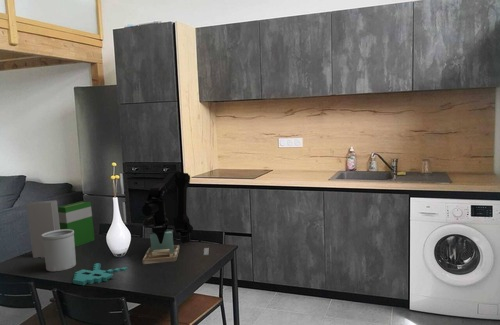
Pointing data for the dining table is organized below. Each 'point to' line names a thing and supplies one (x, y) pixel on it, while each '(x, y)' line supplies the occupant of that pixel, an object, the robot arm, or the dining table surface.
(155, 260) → the rack
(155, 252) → the pine offcut
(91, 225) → the hardback book
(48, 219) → the grey upright box
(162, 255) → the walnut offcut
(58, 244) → the utensil holder
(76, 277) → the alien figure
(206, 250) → the grey mat
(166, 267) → the dining table surface
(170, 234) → the teal square block
